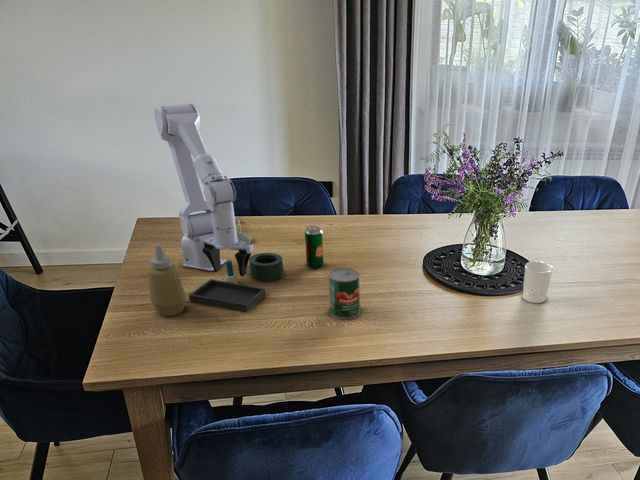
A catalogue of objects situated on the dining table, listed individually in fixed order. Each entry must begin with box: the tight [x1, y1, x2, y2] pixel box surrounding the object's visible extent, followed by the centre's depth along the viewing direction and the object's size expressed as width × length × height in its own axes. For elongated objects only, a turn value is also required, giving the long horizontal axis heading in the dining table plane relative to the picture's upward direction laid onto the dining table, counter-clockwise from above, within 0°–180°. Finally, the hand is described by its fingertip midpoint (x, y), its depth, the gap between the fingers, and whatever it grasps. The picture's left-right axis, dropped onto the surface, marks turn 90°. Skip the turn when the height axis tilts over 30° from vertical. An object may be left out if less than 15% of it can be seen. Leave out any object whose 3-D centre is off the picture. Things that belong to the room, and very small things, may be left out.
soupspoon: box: [235, 216, 252, 244], centre depth 200 cm, size 22×3×7 cm
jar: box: [248, 252, 284, 283], centre depth 176 cm, size 9×9×5 cm
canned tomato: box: [328, 267, 361, 320], centre depth 159 cm, size 8×8×11 cm
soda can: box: [304, 225, 325, 269], centre depth 182 cm, size 5×5×12 cm
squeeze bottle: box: [147, 243, 187, 317], centre depth 150 cm, size 8×8×18 cm
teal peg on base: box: [224, 259, 239, 284], centre depth 168 cm, size 3×3×7 cm
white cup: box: [522, 260, 554, 304], centre depth 176 cm, size 8×8×10 cm
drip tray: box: [188, 278, 267, 313], centre depth 163 cm, size 16×10×2 cm, turn 78°
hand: (230, 272), depth 168 cm, fingers open, 7 cm apart
